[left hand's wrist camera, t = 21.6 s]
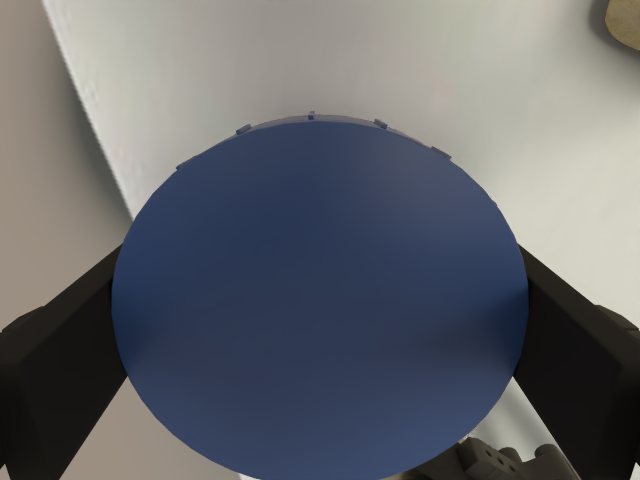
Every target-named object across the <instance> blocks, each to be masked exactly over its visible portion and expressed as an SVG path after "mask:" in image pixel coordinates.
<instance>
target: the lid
mask: <svg viewBox="0 0 640 480" xmlns="http://www.w3.org/2000/svg"><path fill="white" fill-rule="evenodd" d="M236 133H237V134H235V135H233V136H231V137H229V138H227V139H226V140H224V141H222V142H220V143H218V144H216V145H215V146H213V147H211V148H209V149H208V150H206V151H204V152H202V153H201V154H199V155H197V156H194V157H192V158H190V159H189V160H187V161H185V162H183V163H182V164H180V165H178V166H177V167H176V169H177V171H176V172H174V173H173V174H172V175H171V176H170V177H169V178H168V179H167V180H166V181H165V182H164V183H163V184H162V185H161V186H160V187H159V188H158V189H157V190H156V191H155V192H154V193H153V194H152V196H151V197H150V198H149V200H148V201H147V202H146V204H145V205H144V206H143V208H142V209H141V211H140V212H139V213H138V215H137V216H136V218H135V220H134V222H133V224H132V226H131V228H130V229H129V231H128V233H127V235H126V237H125V239H124V242H123V245H122V248H121V251H120V253H119V256H118V259H117V262H116V267H115V272H114V278H113V284H112V296H111V315H112V320H113V326H114V332H115V337H116V342H117V347H118V351H119V356H120V359H121V362H122V364H123V366H124V368H125V371H126V373H127V375H128V377H129V380H130V382H131V383H132V385H133V386H134V388H135V390H136V391H137V393H138V395H139V396H140V398H141V400H142V401H143V402H144V404H145V405H146V406H147V407H148V408H149V410H150V411H151V412H152V413H153V415H154V416H155V417H156V418H157V419H158V420H159V421H160V422H161V423H162V424H163V425H164V426H165V427H166V428H167V429H168V430H169V431H170V432H171V433H172V434H173V435H174V436H176V437H177V438H178V439H179V440H181V441H182V442H183V443H185V444H186V445H187V446H189V447H190V448H191V449H193V450H194V451H196V452H198V453H199V454H201V455H203V456H204V457H206V458H208V459H209V460H211V461H213V462H215V463H217V464H220V465H222V466H224V467H226V468H228V469H230V470H232V471H235V472H238V473H241V474H244V475H247V476H250V477H253V478H256V479H260V480H380V479H383V478H387V477H391V476H394V475H396V474H399V473H402V472H404V471H407V470H410V469H412V468H414V467H417V466H419V465H421V464H423V463H425V462H427V461H429V460H431V459H433V458H434V457H436V456H438V455H439V454H441V453H442V452H444V451H445V450H447V449H449V448H450V447H452V446H453V445H454V444H456V443H457V442H458V441H459V440H461V439H462V438H463V437H464V436H466V435H467V434H468V433H469V432H470V431H471V430H472V429H473V428H474V427H475V426H476V425H477V424H478V423H479V422H480V421H481V420H482V419H483V418H484V417H485V416H486V415H487V414H488V413H489V411H490V410H491V409H492V407H493V406H494V405H495V403H496V402H497V401H498V400H499V398H500V397H501V395H502V393H503V392H504V390H505V388H506V387H507V385H508V383H509V381H510V380H511V378H512V376H513V374H514V371H515V369H516V366H517V364H518V361H519V359H520V357H521V352H522V347H523V343H524V338H525V332H526V327H527V321H528V315H529V293H528V281H527V276H526V271H525V266H524V262H523V258H522V255H521V252H520V250H519V247H518V244H517V242H516V239H515V236H514V234H513V232H512V230H511V229H510V227H509V225H508V223H507V222H506V220H505V218H504V216H503V214H502V213H501V211H500V210H499V208H498V207H497V204H496V203H495V202H494V201H492V199H491V198H490V197H489V196H488V194H487V193H486V192H485V191H484V189H483V188H482V187H481V186H479V185H478V184H477V183H476V182H475V181H474V180H473V179H472V178H471V177H470V176H469V175H468V174H467V173H466V172H465V171H464V170H463V169H461V168H460V167H458V166H457V165H455V164H454V163H453V162H451V161H450V159H451V156H449V155H448V154H446V153H444V152H442V151H440V150H439V149H437V148H435V147H433V146H432V148H429V147H428V146H426V145H424V144H422V143H421V142H419V141H417V140H415V139H413V138H411V137H409V136H407V135H405V134H403V133H401V132H399V131H397V130H395V129H392V128H389V127H387V124H385V123H383V122H381V121H380V120H377V119H375V121H374V122H371V121H367V120H362V119H356V118H351V117H346V116H332V115H314V111H310V113H309V115H308V116H295V117H288V118H283V119H279V120H274V121H270V122H265V123H262V124H260V125H257V126H254V127H251V125H250V124H248V125H246V126H244V127H242V128H240V129H239V130H237V131H236Z"/></svg>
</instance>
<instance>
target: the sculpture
mask: <svg viewBox="0 0 640 480" xmlns="http://www.w3.org/2000/svg"><path fill="white" fill-rule="evenodd" d="M605 22H606V25H607V28H608V30H609V32H610V33H611V35H612V36H613V37H614V38H616V39H617V40H618V41H620V42H622V43H623V44H625V45H627V46H629V47H632V48H634V49H636V50H639V51H640V0H610V1H609V5H608V8H607V12H606V16H605Z"/></svg>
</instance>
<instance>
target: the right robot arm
mask: <svg viewBox="0 0 640 480" xmlns="http://www.w3.org/2000/svg"><path fill="white" fill-rule="evenodd" d="M535 457H536V458H534V459H532V460H530V461H527V462H522V460H521V458H520V456H519V455H518V453H517V451H516V450H515V449H513V448H510V447H506V448H502V449H500V450H499V451H497V450H495V449H493V448H492V447H490V446H489V445H487V444H486V443H484V442H483V441H481V440H479V439H476V438H472V437H468V438H467V439H466V440H464V441H463V442H462V443H461V444H460V443H459V442H457V443H456V444H454V445H453V446H452V447H450V448H449V449H447V450H445V451H444V452H442V453H441V454H439V455H438V456H436V457H434V458H433V459H431V460H429V461H427V462H425V463H423V464H421V465H419V466H417V467H414V468H415V469H417V470H418V471H420V472H422V473H423V474H425V475H427V476H428V477H430V478H432V479H433V480H581V479H580V477H579V476H578V474H577V472H576V471H575V469H574V468H573V467H572V466H571V464H570V463H569V462H568V461H567V459H566V458H565V457H564V456H563V454H562V453H561V452H560V451H559V449H558V448H557V447H556V446H554V445H552V444H544V445H541V446H540V447H538V448H537V449H536V451H535Z"/></svg>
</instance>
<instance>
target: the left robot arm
mask: <svg viewBox="0 0 640 480" xmlns="http://www.w3.org/2000/svg"><path fill="white" fill-rule="evenodd" d="M517 244H518V243H517ZM122 245H123V243H122V244H121V245H120V246H119V247H117V248H116V249H115V250H114V251H112V252H111V253H110V254H109V255H107V256H106V257H105V258H104V259H102V260H101V261H100V262H99V263H98V264H96V265H95V266H94V267H93V268H91V269H90V270H89V271H88V272H86V273H85V274H84V275H83V276H81V277H80V278H79V279H78V280H76V281H75V282H74V283H73V284H71V285H70V286H69V287H68V288H66V289H65V290H64V291H63V292H61V293H60V294H59V295H58V296H56V297H55V298H54V299H53V300H51V301H50V302H49V303H48V304H46V305H45V306H41V307H39V308H37V309H35V310H33V311H31V312H29V313H26V314H24V315H22V316H20V317H18V318H17V319H16V320H14V321H13V322H12V323H11V324H9V325H8V326H7V327H5V328H4V329H3V330H2V333H0V469H1V468H2V467H3V465H4V464H5V465H6V467H7V471H8V474H9V476H10V479H11V480H59V479H60V477H61V476H62V474H63V473H64V471H65V470H66V468H67V467H68V465H69V464H70V462H71V461H72V459H73V458H74V456H75V455H76V453H77V452H78V450H79V449H80V447H81V446H82V444H83V443H84V441H85V440H86V438H87V437H88V435H89V434H90V432H91V431H92V429H93V428H94V426H95V425H96V423H97V421H98V420H99V418H100V417H101V415H102V414H103V412H104V411H105V409H106V408H107V406H108V405H109V403H110V402H111V400H112V399H113V397H114V396H115V394H116V393H117V391H118V390H119V388H120V387H121V385H122V384H123V382H124V381H125V379H126V378H127V376H128V375H127V373H126V371H125V368H124V366H123V364H122V362H121V359H120V356H119V351H118V347H117V342H116V337H115V332H114V326H113V320H112V315H111V296H112V284H113V278H114V272H115V267H116V262H117V259H118V256H119V253H120V251H121V248H122ZM518 247H519V250H520V252H521V255H522V258H523V262H524V266H525V271H526V276H527V281H528V293H529V315H528V321H527V327H526V332H525V338H524V343H523V347H522V352H521V357H520V359H519V361H518V364H517V366H516V369H515V371H514V374H513V377H514V379H515V380H516V382H517V383H518V385H519V386H520V388H521V389H522V391H523V392H524V394H525V395H526V397H527V398H528V400H529V401H530V403H531V404H532V406H533V407H534V409H535V410H536V412H537V414H538V415H539V417H540V418H541V420H542V421H543V423H544V424H545V426H546V427H547V429H548V430H549V432H550V433H551V435H552V436H553V438H554V439H555V441H556V442H557V444H558V445H559V447H560V448H561V450H562V451H563V453H564V454H565V456H566V457H567V459H568V460H569V462H570V463H571V465H572V466H573V468H574V469H575V471H576V472H577V474H578V476H579V477H580V479H581V480H630V478H631V475H632V472H633V469H634V466H635V463H637V464H638V465H639V466H640V331H639V328H638V327H636V326H635V325H634V324H632V323H631V322H630V321H628V320H627V319H626V318H624V317H623V316H622V315H620V314H617V313H615V312H613V311H611V310H609V309H607V308H605V307H603V306H601V305H594V304H593V303H591V302H590V301H589V300H588V299H586V298H585V297H584V296H583V295H581V294H580V293H579V292H578V291H576V290H575V289H574V288H573V287H571V286H570V285H569V284H568V283H566V282H565V281H564V280H563V279H561V278H560V277H559V276H558V275H557V274H555V273H554V272H553V271H552V270H550V269H549V268H548V267H547V266H545V265H544V264H543V263H542V262H540V261H539V260H538V259H537V258H535V257H534V256H533V255H532V254H530V253H529V252H528V251H527V250H525V249H524V248H523V247H522V246H520V245H519V244H518Z"/></svg>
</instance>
